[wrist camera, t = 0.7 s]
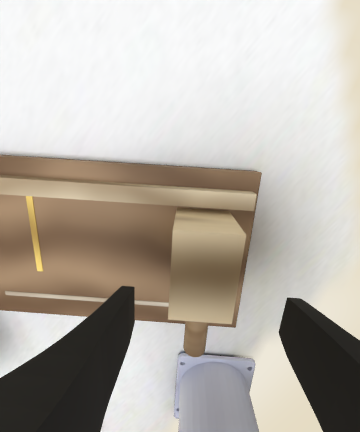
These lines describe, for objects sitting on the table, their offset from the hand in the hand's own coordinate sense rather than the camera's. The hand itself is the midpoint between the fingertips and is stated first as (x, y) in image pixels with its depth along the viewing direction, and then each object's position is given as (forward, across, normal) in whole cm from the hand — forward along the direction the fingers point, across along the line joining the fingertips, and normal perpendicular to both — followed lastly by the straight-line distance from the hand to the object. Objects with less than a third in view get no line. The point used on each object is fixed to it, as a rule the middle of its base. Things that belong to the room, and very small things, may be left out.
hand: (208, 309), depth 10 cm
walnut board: (+9, +7, +1) cm, 11 cm away
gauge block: (+7, 0, +2) cm, 8 cm away
